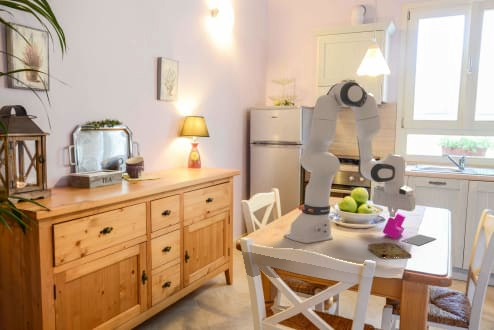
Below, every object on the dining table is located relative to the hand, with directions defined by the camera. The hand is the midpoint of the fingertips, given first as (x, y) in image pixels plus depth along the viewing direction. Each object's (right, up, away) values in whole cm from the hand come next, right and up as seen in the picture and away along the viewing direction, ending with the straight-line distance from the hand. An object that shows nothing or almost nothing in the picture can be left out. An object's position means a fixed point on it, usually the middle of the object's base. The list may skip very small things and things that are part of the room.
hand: (392, 216), depth 190 cm
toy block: (-1, -7, -3) cm, 8 cm away
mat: (+8, -9, -10) cm, 16 cm away
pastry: (-11, -12, -27) cm, 32 cm away
